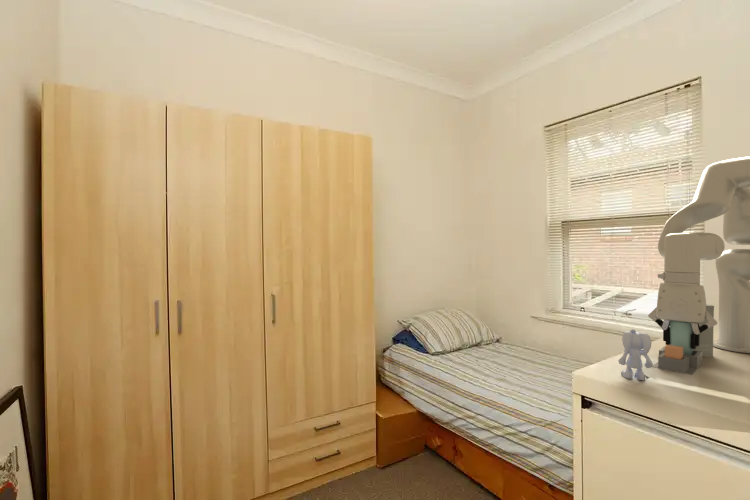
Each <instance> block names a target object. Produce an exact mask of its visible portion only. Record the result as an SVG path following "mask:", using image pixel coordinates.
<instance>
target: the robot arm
mask: <svg viewBox="0 0 750 500" xmlns="http://www.w3.org/2000/svg"><path fill="white" fill-rule="evenodd" d="M721 216H723V220H722V221H723V222H722V233H723V238H722V237H721V236H720V235H718V234H716V233H713V232H712V233H711V232H685V231H686V230H687V229H689V228H691V227H693V226H695V225H699V224H702V223H704V222H708V221H710V220H713V219H715V218H718V217H721ZM659 235H660V236H659V239H658V243H657V250H658V253H659V255H660V256H661V257H663V258H664V263H663V264H664V265H663V266H664V271H663V272H661V273H657V278H658V279H661V280H662V281H663V282H660V284H659V287H658V293H657V301H656V307H655V308H654V309H653V310H652V311H651V312H650V313H648V318H649V319H651V320H652V321H654V322H655V324H657V325H658V326H659V327H660V329H662V332H663V333H662V336H663V337H662V341H663V342H665V346H666V345H670V321H679V322H687V323H691V325H692V328H693V334H691V348H692V349H696V346H699V340H700V333H701V332H703V331H705V330H706V329H708V328H710V327H712V326H713V327H715V326H717V324H718V340H713V348H714V347H715V348H718V349H721V350H725V351H731V352H736V353H742V354H743V353H744V354H750V248H734V249H733V248H732V249H726V250H725V246H726V245H725V242H726V243H728V244H731V245H737V246H738V245H739V246H750V156H744V157H737V158H730V159H725V160H721V161H718V162H714V163H711V164H709V165H707V166H706V167H705V168H704V170H703V171H702V173H701V177H700V179H699V182H698V184H697V187H696V189H695V192H694V195H693V198H692V201H691V202H690V203H689V204H687V205H685V206H683V207H682V208H680V209H679V210H678V211H677V212H675V213H674V214H673V215H672V216H671V217H669V219H667V221H666V222H665V224H664V226H663V228H662V230H661V233H660V234H659ZM723 239H724V240H723ZM724 241H725V242H724ZM712 260H715V269H716V273H717V278H718V321H717V320H716V319H715V318H713V317H712V316H711V315H710V314H709V312H708V311H707V309H706V304H707V299H706V293H705V288H704V285H703V284H701V261H712ZM706 319H707V320H708V323H706V324H704V325H702V326H700V325H699V323H702V322H703V321H705V320H706Z"/></svg>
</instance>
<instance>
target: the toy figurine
mask: <svg viewBox="0 0 750 500" xmlns="http://www.w3.org/2000/svg"><path fill="white" fill-rule="evenodd" d="M621 340H622V345H623V348H624V350H623V355H622V356H621V357H620V358H619V359H618V360H617V361H618V363H619V365H621V366H625V365H626V368H625V369H623V370H621V372H620V375H621V376H622V377H623V378H625V379H628V380H632V379H633V378H634V377H635V378H636V380H638V381H642V382H643V381H644V382H645V380H646V374H645V373H644V371H643V369H642V368H643V361H642V360H643V359H642V358H641V356H643V357H644V358H645V363H644V367H645V368H646V369H651V368H653V367H652V366H654V364H653V361H652V359H651V358H650V357H649V355H648V353H649V352H650V350H651V348H652V339H651V337H650V335H649V334H648V333H646V332H638V331H636V330H635V329H633V328H632V329H630V330H629V331H623V332H622V338H621ZM633 369H635V371H636V372H635V373H633ZM633 375H634V376H633Z"/></svg>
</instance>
